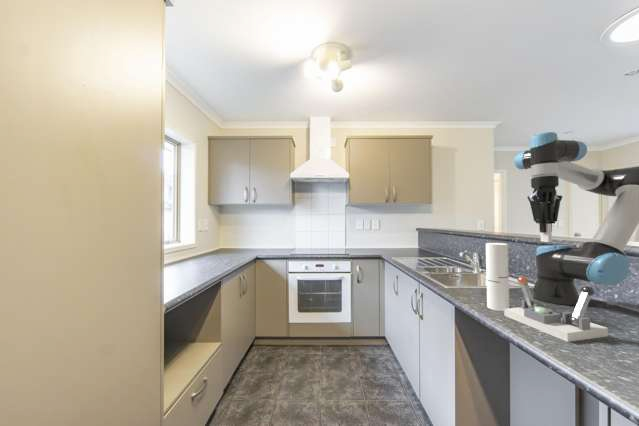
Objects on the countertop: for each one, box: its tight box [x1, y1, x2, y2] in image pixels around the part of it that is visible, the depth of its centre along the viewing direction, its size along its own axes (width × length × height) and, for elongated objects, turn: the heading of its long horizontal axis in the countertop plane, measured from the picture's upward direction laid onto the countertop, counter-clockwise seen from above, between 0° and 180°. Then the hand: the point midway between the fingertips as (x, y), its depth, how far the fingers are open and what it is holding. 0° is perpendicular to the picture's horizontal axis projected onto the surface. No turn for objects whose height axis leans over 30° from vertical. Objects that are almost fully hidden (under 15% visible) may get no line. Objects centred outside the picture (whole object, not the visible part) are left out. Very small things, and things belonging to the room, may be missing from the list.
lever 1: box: [517, 276, 536, 308], centre depth 90 cm, size 3×3×13 cm
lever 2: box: [567, 286, 595, 326], centre depth 78 cm, size 3×3×13 cm
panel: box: [503, 299, 609, 343], centre depth 85 cm, size 15×20×6 cm
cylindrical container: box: [485, 242, 510, 312], centre depth 101 cm, size 7×7×25 cm
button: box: [535, 307, 550, 314], centre depth 83 cm, size 4×4×3 cm
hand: (546, 241), depth 94 cm, fingers closed
